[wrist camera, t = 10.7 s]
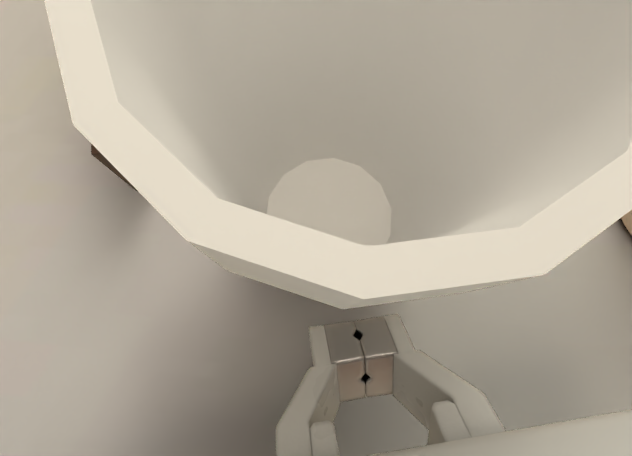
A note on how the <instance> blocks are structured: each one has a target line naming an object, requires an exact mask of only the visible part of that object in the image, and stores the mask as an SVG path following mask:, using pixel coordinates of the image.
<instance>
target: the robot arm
mask: <svg viewBox="0 0 632 456" xmlns="http://www.w3.org/2000/svg"><path fill="white" fill-rule="evenodd" d="M309 337H310V344H311V352H312V359H313V367H310V368H309V369H308V371H307V373H306V374H305V376H304V378H303V380H302V381H301V383H300V385H299V387H298V389H297V390H296V392H295V394H294V396H293V397H292V399H291V401H290V403H289V405H288V406H287V408H286V410H285V412H284V413H283V415H282V417H281V419H280V421H279V422H278V424H277V426H276V428H275V429H276V456H340V455H339V449H338V443H337V438H336V432H335V427H334V424H333V422H334V420H335V417H336V414H337V411H338V409H339V406H340V402H345V401H351V400H356V399H361V398H366V397H373V396H381V395H388V394H393V396H394V397H395V398H396V399H397V400H398V401H399V402H400V403H401V404H402V405H403V406H404V407H405V408H406V409H407V410H408V411H409V412H410V413H411V414H413V415H414V416H415V417H416V418H417V419H418V420H419V421H420V422H421V423H422V424H423V425H424V426H425V427H426V428H427V429H428V430H429V434H428V443H427V445H425V446H420V447H414V448H408V449H403V450H397V451H391V452H385V453H380V454H374V455H368V456H632V409H631V410H625V411H619V412H614V413H608V414H602V415H596V416H591V417H585V418H579V419H574V420H568V421H562V422H556V423H551V424H545V425H539V426H533V427H528V428H522V429H516V430H511V431H506V430H505V428H504V426H503V425H502V423H501V421H500V419H499V418H498V416H497V414H496V413H495V411H494V409H493V407H492V406H491V404H490V402H489V401H488V399H487V397H486V396H485V394H484V393H483V392H482V391H480V390H479V389H477V388H476V387H474V386H473V385H471V384H470V383H468V382H467V381H465V380H464V379H462V378H461V377H459V376H458V375H456V374H455V373H453V372H452V371H450V370H449V369H447V368H446V367H444V366H443V365H441V364H440V363H439V362H437V361H436V360H434V359H433V358H431V357H430V356H428V355H427V354H425V353H424V352H422V351H421V350H415V348H414V346H413V344H412V342H411V340H410V337H409V335H408V333H407V331H406V329H405V327H404V324H403V322H402V320H401V318H400V316H399V315H398V314H392V315H385V316H379V317H373V318H367V319H361V320H355V321H349V322H341V323H334V324H326V325H321V326H312V327H309Z"/></svg>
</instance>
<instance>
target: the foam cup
mask: <svg viewBox="0 0 632 456" xmlns="http://www.w3.org/2000/svg"><path fill="white" fill-rule="evenodd" d="M44 2H45V7H46V11H47V15H48V19H49V24H50V28H51V32H52V37H53V41H54V45H55V50H56V54H57V58H58V63H59V67H60V71H61V76H62V80H63V84H64V88H65V93H66V97H67V101H68V106H69V110H70V114H71V119H72V123H73V125H74V126H75V127H76V128H77V129H78V130H79V131H80V132H81V133H82V134H83V135H84V136H85V137H86V138H87V140H88V141H89V142H90V143H91V144H92V145H93V146H94V147H95V148H96V149H97V150H98V151H99V152H100V153H101V154H102V155H103V156H104V157H105V158H106V159H107V160H108V161H109V162H110V163H111V164H112V165H113V166H114V167H115V168H116V169H117V170H118V171H119V172H120V173H121V174H122V175H123V176H124V177H125V178H126V179H127V180H128V181H129V182H130V183H131V184H132V185H133V186H134V188H135V189H136V190H137V191H138V192H139V193H140V194H141V195H142V196H143V197H144V198H145V199H146V200H147V201H148V202H149V203H150V204H151V205H152V206H153V207H154V208H155V209H156V210H157V211H158V212H159V213H160V214H161V215H162V216H163V217H164V218H165V219H166V220H167V221H168V222H169V223H170V224H171V225H172V226H173V227H174V228H175V229H176V230H177V231H178V232H179V233H180V234H181V236H182V237H183V238H184V239H185V240H186V241H188V242H189V243H190V244H192V245H193V246H194V247H196V248H197V249H199V250H200V251H201V252H203V253H204V254H205V255H207V256H208V257H209V258H211V259H212V260H214V261H215V262H216V263H218V264H219V265H220V266H222V267H223V268H224V269H226V270H227V271H229V272H232V273H235V274H238V275H241V276H244V277H247V278H250V279H253V280H256V281H259V282H262V283H265V284H268V285H271V286H274V287H277V288H280V289H283V290H286V291H289V292H292V293H295V294H298V295H301V296H304V297H307V298H310V299H313V300H316V301H319V302H322V303H325V304H328V305H331V306H334V307H337V308H340V309H349V308H357V307H364V306H371V305H379V304H386V303H393V302H401V301H408V300H416V299H423V298H430V297H438V296H445V295H452V294H460V293H465V292H469V291H474V290H478V289H483V288H487V287H492V286H496V285H501V284H505V283H510V282H514V281H519V280H523V279H528V278H532V277H537V276H541V275H545V274H546V273H547V272H549V271H550V270H551V269H553V268H554V267H555V266H557V265H558V264H559V263H561V262H562V261H564V260H565V259H566V258H568V257H569V256H570V255H572V254H573V253H574V252H576V251H577V250H578V249H580V248H581V247H582V246H584V245H585V244H586V243H588V242H589V241H590V240H592V239H593V238H594V237H596V236H597V235H598V234H600V233H601V232H602V231H604V230H605V229H606V228H608V227H609V226H610V225H612V224H613V223H615V222H616V221H617V220H619V219H620V218H621V217H623V216H624V215H625V214H627V213H628V212H629V211H631V210H632V0H44Z"/></svg>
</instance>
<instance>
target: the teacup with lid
mask: <svg viewBox="0 0 632 456" xmlns="http://www.w3.org/2000/svg"><path fill="white" fill-rule="evenodd" d="M621 219H622V221H623V223H624V225H625V226H626V228H627V230H628V231H629V233H630V234H631V235H632V210H631V211H629V212H628V213H627V214H625V215H624V216H623V217H621Z"/></svg>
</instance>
